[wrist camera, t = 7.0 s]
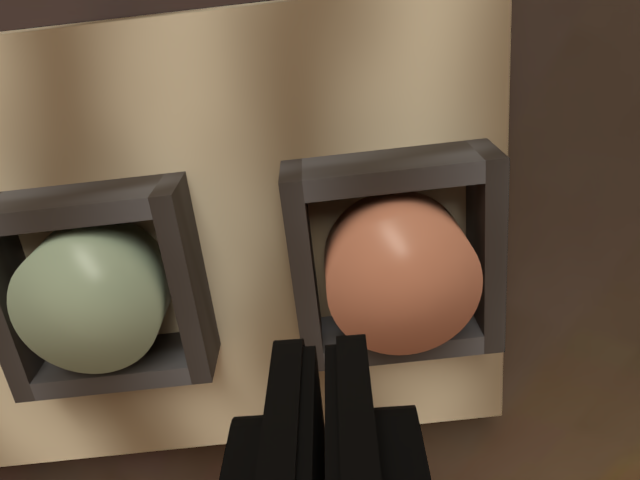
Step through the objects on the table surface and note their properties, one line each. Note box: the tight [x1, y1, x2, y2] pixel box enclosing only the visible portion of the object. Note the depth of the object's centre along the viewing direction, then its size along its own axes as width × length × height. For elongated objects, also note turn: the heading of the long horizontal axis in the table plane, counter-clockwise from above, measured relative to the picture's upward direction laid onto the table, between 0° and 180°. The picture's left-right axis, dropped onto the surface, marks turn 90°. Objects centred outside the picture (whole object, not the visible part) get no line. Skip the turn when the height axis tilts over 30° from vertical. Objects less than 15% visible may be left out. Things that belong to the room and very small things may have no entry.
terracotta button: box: [324, 191, 483, 355], centre depth 16 cm, size 4×4×2 cm
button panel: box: [0, 0, 512, 467], centre depth 18 cm, size 24×14×4 cm, turn 96°
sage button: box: [7, 222, 171, 374], centre depth 17 cm, size 4×4×2 cm
